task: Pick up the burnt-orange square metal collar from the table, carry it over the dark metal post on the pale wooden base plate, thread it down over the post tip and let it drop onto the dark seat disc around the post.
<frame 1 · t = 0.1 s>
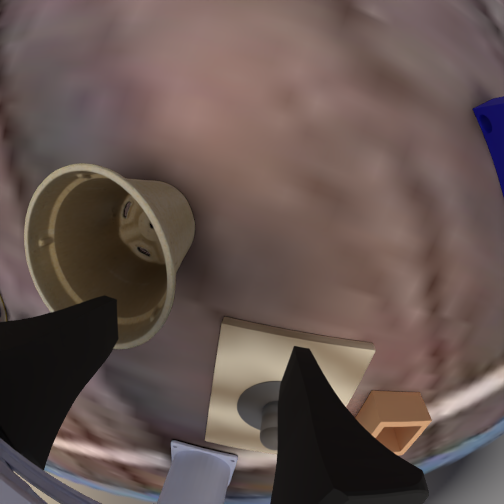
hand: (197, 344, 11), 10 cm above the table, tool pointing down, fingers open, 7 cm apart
post plate: (278, 401, 24), on the table
flower pot: (156, 224, 20), on the table
collar: (384, 410, 23), on the table
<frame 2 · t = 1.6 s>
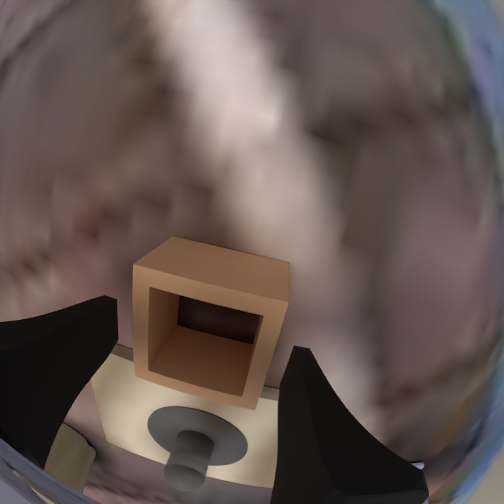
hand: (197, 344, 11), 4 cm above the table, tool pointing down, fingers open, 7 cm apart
post plate: (199, 428, 18), on the table
flower pot: (74, 437, 22), on the table
collar: (219, 301, 14), on the table
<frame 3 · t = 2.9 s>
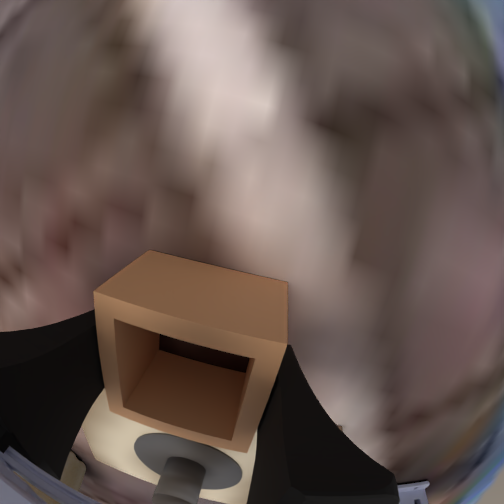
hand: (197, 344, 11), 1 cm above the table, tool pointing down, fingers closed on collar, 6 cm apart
post plate: (190, 453, 15), on the table
flower pot: (64, 451, 20), on the table
collar: (206, 326, 12), on the table, touching gripper
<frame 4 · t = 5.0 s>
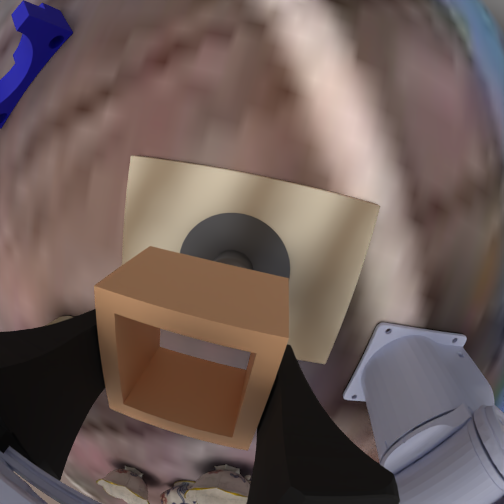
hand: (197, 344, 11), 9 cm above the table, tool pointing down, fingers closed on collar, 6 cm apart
cable clip: (28, 69, 17), on the table
post plate: (235, 263, 20), on the table
chinaware: (189, 482, 31), on the table
collar: (206, 322, 12), point 8 cm above the table, touching gripper
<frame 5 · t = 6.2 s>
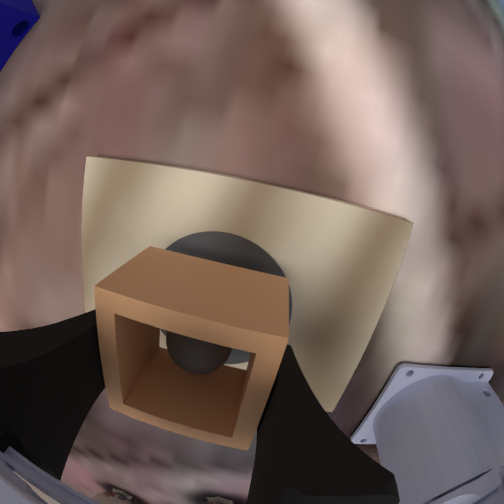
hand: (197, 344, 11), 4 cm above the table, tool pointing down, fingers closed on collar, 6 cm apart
post plate: (221, 295, 15), on the table
collar: (206, 322, 12), point 3 cm above the table, touching gripper
when the fingers open (4 cm above the table, at t = 7.1 s): collar drops 2 cm, resting on post plate.
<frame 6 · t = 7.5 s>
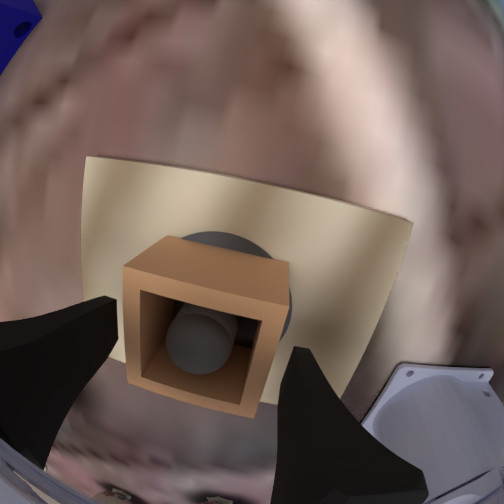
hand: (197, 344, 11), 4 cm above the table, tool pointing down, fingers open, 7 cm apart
post plate: (220, 295, 15), on the table
collar: (216, 304, 14), point 1 cm above the table, touching post plate
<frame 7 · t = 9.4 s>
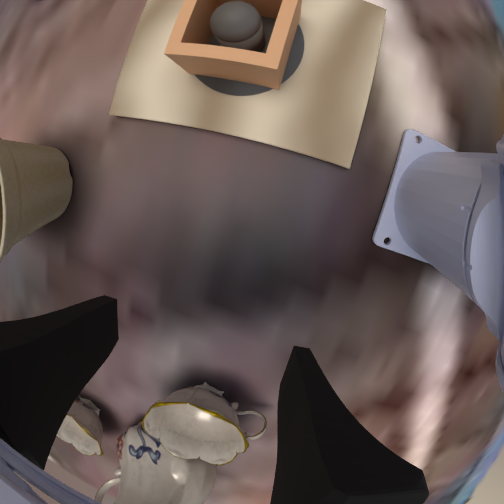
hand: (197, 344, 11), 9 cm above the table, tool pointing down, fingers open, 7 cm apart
post plate: (246, 49, 15), on the table
flower pot: (51, 182, 20), on the table
chinaware: (156, 423, 27), on the table
collar: (244, 40, 14), point 1 cm above the table, touching post plate
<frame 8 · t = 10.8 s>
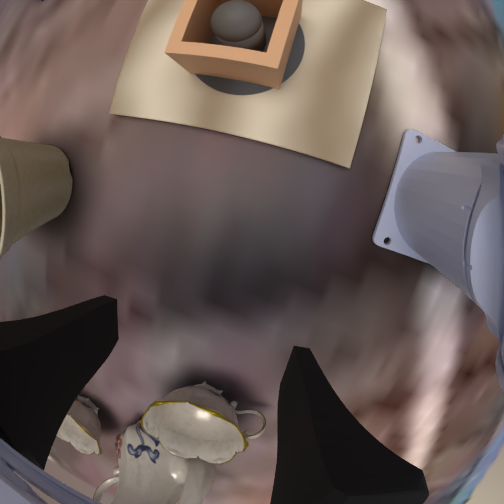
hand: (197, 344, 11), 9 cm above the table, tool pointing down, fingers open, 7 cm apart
post plate: (246, 48, 15), on the table
flower pot: (51, 181, 20), on the table
chinaware: (155, 422, 27), on the table
collar: (245, 40, 14), point 1 cm above the table, touching post plate
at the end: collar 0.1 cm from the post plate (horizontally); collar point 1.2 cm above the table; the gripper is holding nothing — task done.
